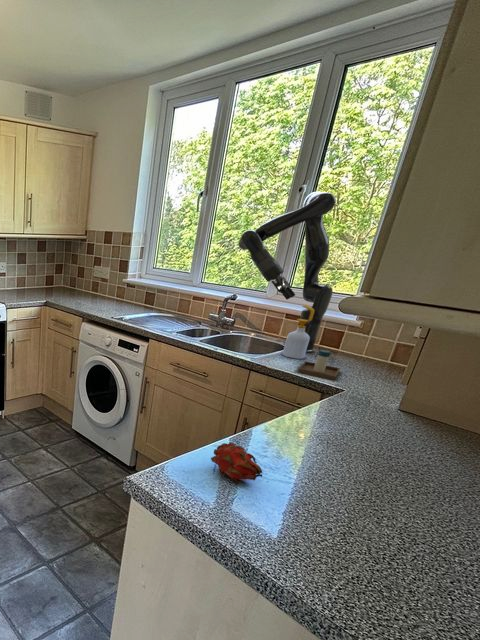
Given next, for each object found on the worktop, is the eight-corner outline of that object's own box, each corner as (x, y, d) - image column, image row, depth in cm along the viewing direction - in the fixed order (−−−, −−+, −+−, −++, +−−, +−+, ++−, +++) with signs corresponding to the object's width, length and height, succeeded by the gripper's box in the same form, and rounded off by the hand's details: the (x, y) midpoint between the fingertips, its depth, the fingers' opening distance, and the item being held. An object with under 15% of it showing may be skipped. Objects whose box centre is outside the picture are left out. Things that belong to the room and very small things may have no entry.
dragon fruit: (208, 466, 104) (251, 497, 95) (197, 458, 98) (243, 490, 89) (228, 440, 103) (274, 469, 95) (219, 430, 97) (267, 460, 89)
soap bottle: (286, 352, 203) (300, 303, 194) (306, 357, 196) (322, 306, 187) (279, 355, 197) (293, 304, 188) (299, 360, 191) (315, 308, 182)
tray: (303, 364, 185) (305, 361, 184) (338, 371, 177) (340, 368, 176) (297, 372, 174) (298, 368, 173) (334, 380, 166) (335, 376, 165)
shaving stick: (313, 368, 178) (319, 349, 175) (325, 371, 175) (331, 351, 172) (312, 370, 175) (318, 350, 172) (323, 373, 172) (330, 353, 169)
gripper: (274, 263, 177) (296, 293, 174) (281, 262, 187) (302, 290, 184) (257, 274, 182) (279, 304, 179) (265, 273, 192) (286, 300, 189)
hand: (291, 297), depth 182 cm, fingers open, 8 cm apart
